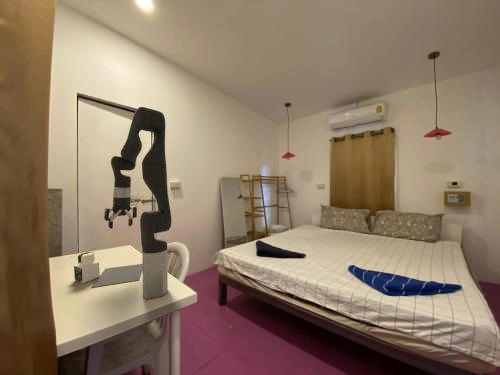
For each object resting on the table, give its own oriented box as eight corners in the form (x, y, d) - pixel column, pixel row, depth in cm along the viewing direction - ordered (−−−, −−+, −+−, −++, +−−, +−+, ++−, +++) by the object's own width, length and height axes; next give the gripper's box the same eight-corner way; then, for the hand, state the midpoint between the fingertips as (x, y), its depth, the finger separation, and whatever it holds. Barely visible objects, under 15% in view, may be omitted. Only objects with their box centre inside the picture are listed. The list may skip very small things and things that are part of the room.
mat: (139, 280, 95) (139, 279, 95) (91, 287, 88) (91, 287, 88) (143, 264, 116) (143, 263, 116) (105, 269, 109) (105, 268, 109)
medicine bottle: (74, 280, 95) (73, 254, 95) (92, 274, 102) (90, 250, 101) (82, 283, 92) (80, 256, 92) (100, 277, 98) (98, 251, 98)
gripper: (108, 197, 97) (107, 231, 99) (140, 196, 108) (138, 226, 110) (103, 195, 102) (102, 227, 103) (134, 194, 113) (132, 223, 114)
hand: (120, 227), depth 107 cm, fingers open, 8 cm apart
